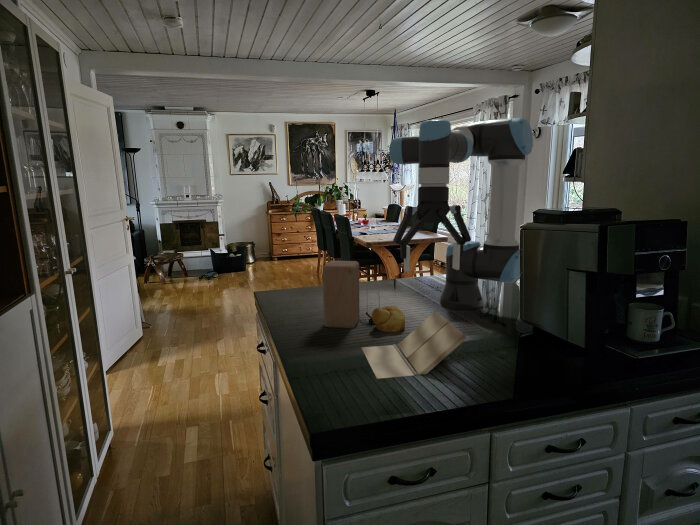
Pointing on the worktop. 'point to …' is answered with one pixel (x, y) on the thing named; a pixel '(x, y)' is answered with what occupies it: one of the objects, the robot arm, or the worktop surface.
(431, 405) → the worktop surface
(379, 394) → the worktop surface
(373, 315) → the bread roll
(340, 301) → the wooden block
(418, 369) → the near plank
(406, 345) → the far plank
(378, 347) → the laid board
